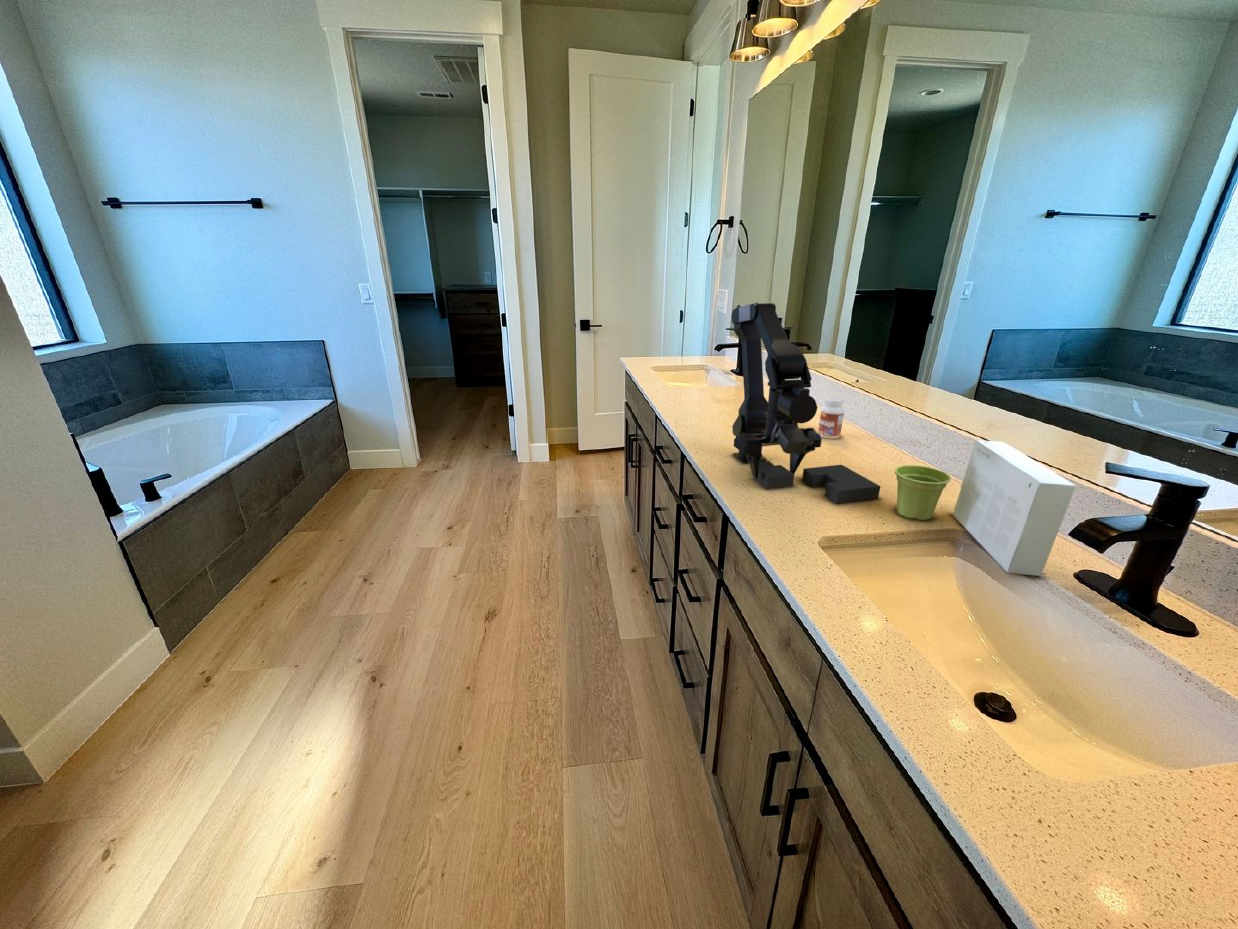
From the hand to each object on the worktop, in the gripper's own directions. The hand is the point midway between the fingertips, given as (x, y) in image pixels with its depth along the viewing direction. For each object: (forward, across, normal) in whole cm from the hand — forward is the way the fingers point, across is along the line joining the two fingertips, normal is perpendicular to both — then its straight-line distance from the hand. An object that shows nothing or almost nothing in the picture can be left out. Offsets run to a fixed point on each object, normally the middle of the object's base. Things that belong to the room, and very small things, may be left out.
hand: (773, 476), depth 113 cm
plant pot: (+2, +19, -21) cm, 28 cm away
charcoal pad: (+2, +12, -7) cm, 14 cm away
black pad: (+2, 0, +1) cm, 2 cm away
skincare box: (+2, +24, -34) cm, 42 cm away
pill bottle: (+2, +33, +27) cm, 43 cm away
